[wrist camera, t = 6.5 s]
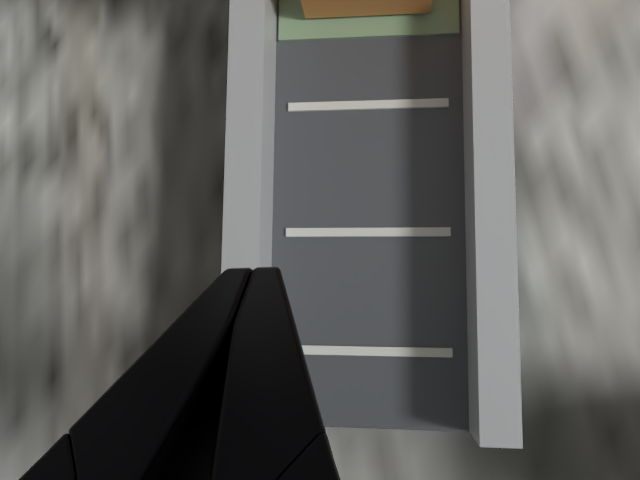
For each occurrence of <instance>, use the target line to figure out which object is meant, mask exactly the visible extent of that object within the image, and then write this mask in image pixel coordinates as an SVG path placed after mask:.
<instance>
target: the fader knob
mask: <svg viewBox="0 0 640 480" xmlns="http://www.w3.org/2000/svg"><path fill="white" fill-rule="evenodd" d="M301 4H302V8H303V12H304V15H305V19H308V18H330V17H351V16H373V15H395V14H416V13H430V12H431V6H432V0H301Z"/></svg>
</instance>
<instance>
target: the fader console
mask: <svg viewBox="0 0 640 480" xmlns="http://www.w3.org/2000/svg"><path fill="white" fill-rule="evenodd" d="M257 267H279V268H280V270H281V273H282V277H283V280H284V284H285V288H286V291H287V295H288V298H289V302H290V305H291V309H292V313H293V316H294V320H295V323H296V327H297V331H298V334H299V338H300V341H301V345H302V348H303V352H304V356H305V359H306V363H307V366H308V370H309V374H310V377H311V381H312V384H313V388H314V391H315V395H316V399H317V402H318V406H319V409H320V413H321V416H322V420H323V424H324V427H352V428H380V429H408V430H436V431H464V432H470V434H471V435H472V436H473V438H474V439H475V441H476V442H477V444H478V445H479V447H489V448H515V449H523V435H522V401H521V366H520V332H519V298H518V264H517V230H516V196H515V161H514V127H513V93H512V59H511V25H510V0H432V6H431V12H430V13H416V14H395V15H373V16H351V17H330V18H308V19H305V15H304V12H303V8H302V4H301V0H230V6H229V38H228V70H227V102H226V134H225V166H224V197H223V229H222V261H221V274H222V273H223V272H224V271H225V270H226V269H229V268H251V269H252V270H254V269H255V268H257Z"/></svg>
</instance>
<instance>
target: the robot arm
mask: <svg viewBox="0 0 640 480" xmlns="http://www.w3.org/2000/svg"><path fill="white" fill-rule="evenodd" d="M69 434H70V435H69ZM69 434H64V435H63V436H62V437H61V438H60V439H59V440H58V441H57V442H56V443H55V444H54V445H53V446H52V447H51V448H50V449H49V450H48V451H47V452H46V453H45V454H44V455H43V456H42V457H41V458H40V459H39V460H38V461H37V462H36V463H35V464H34V465H33V466H32V467H31V468H30V469H29V470H28V471H27V472H26V473H25V474H24V475H23V476H22V477H21V478H20V479H19V480H340V477H339V474H338V471H337V468H336V465H335V462H334V458H333V455H332V451H331V448H330V444H329V440H328V437H327V435H326V432H325V427H324V424H323V420H322V416H321V413H320V409H319V406H318V402H317V399H316V395H315V391H314V388H313V384H312V381H311V377H310V374H309V370H308V366H307V363H306V359H305V356H304V352H303V348H302V345H301V341H300V338H299V334H298V331H297V327H296V323H295V320H294V316H293V313H292V309H291V305H290V302H289V298H288V295H287V291H286V288H285V284H284V280H283V277H282V273H281V270H280V268H279V267H257V268H255V269H254V270H252V269H251V268H229V269H226V270H225V271H224V272H223V273H222V274H221V275H220V276H219V277H218V278H217V279H216V280H215V281H214V282H213V283H212V284H211V285H210V286H209V287H208V288H207V289H206V290H205V291H204V292H203V293H202V294H201V295H200V296H199V297H198V298H197V299H196V300H195V301H194V302H193V303H192V304H191V305H190V306H189V307H188V308H187V309H186V310H185V311H184V312H183V313H182V315H181V316H180V317H179V318H178V319H177V320H176V321H175V322H174V323H173V324H172V325H171V326H170V327H169V328H168V329H167V330H166V331H165V332H164V333H163V334H162V335H161V336H160V337H159V338H158V339H157V340H156V341H155V342H154V343H153V344H152V345H151V346H150V347H149V348H148V349H147V350H146V351H145V352H144V353H143V354H142V355H141V356H140V357H139V358H138V360H137V361H136V362H135V363H134V364H133V365H132V366H131V367H130V368H129V369H128V370H127V371H126V372H125V373H124V374H123V375H122V376H121V377H120V378H119V379H118V380H117V381H116V382H115V383H114V384H113V385H112V386H111V387H110V388H109V389H108V390H107V391H106V392H105V393H104V394H103V395H102V396H101V397H100V398H99V399H98V400H97V401H96V402H95V403H94V405H93V406H92V407H91V408H90V409H89V410H88V411H87V412H86V413H85V414H84V415H83V416H82V417H81V418H80V419H79V420H78V421H77V422H76V423H75V424H74V425H73V426H72V427H71V428H70V430H69Z"/></svg>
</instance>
